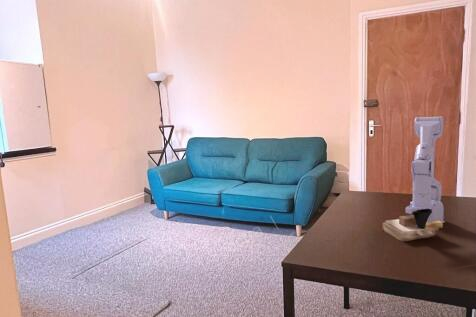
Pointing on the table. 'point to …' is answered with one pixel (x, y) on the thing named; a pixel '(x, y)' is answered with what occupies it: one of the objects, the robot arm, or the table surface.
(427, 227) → the light wooden bar
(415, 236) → the wooden tray
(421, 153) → the robot arm
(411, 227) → the lid
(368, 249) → the table surface
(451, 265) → the table surface
